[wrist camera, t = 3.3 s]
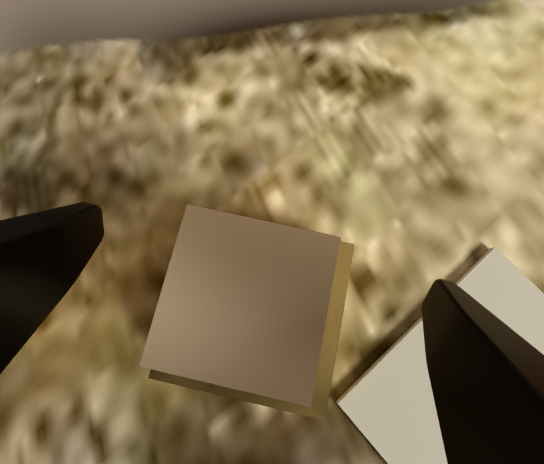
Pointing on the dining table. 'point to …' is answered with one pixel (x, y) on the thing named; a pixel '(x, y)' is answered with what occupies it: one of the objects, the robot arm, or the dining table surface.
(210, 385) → the frame
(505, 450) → the robot arm
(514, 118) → the dining table surface
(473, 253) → the dining table surface
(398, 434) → the grey mat
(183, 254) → the brown square block
